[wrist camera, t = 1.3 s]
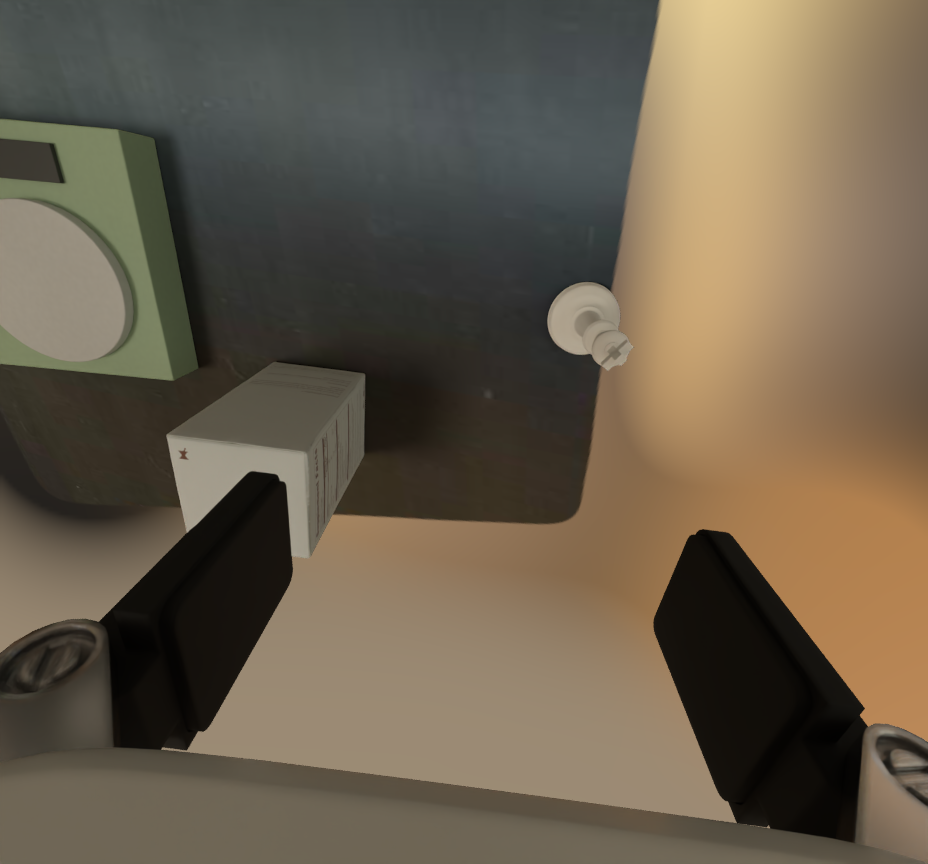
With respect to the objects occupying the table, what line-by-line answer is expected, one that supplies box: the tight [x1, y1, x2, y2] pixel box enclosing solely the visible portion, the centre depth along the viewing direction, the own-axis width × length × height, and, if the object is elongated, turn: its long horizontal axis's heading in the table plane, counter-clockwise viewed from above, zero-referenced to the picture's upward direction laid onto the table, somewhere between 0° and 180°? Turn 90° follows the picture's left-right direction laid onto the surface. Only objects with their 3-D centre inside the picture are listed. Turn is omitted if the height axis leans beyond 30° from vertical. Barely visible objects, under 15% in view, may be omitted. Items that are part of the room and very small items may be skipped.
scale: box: [0, 119, 198, 381], centre depth 29 cm, size 15×13×4 cm
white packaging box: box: [166, 362, 365, 558], centre depth 29 cm, size 7×7×13 cm
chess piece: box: [548, 282, 634, 371], centre depth 26 cm, size 5×5×10 cm
